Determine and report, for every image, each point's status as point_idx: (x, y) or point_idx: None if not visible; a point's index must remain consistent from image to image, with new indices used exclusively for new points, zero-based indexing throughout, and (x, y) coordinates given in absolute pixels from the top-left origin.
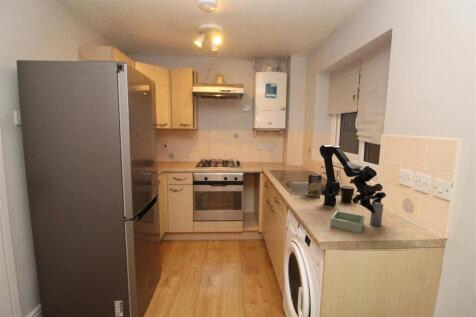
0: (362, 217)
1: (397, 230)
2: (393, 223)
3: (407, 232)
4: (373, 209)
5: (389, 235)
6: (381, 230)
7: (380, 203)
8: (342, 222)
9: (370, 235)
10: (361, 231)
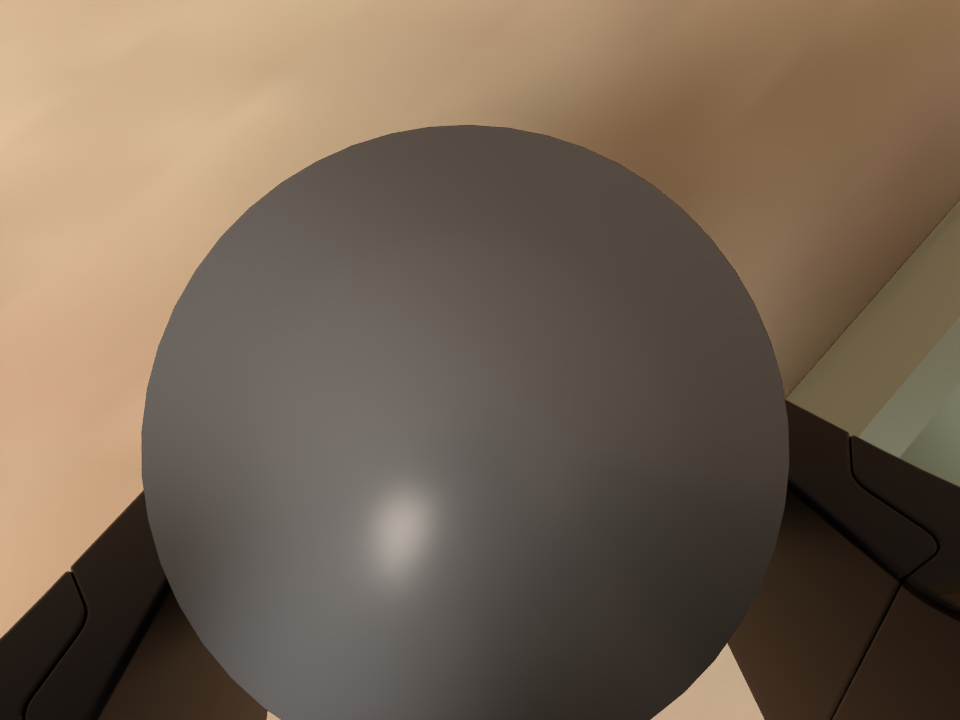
0: (921, 413)
1: (253, 138)
2: (8, 438)
3: (146, 39)
4: None
5: (573, 7)
6: None
7: (243, 425)
8: None
9: (888, 64)
10: (957, 204)
